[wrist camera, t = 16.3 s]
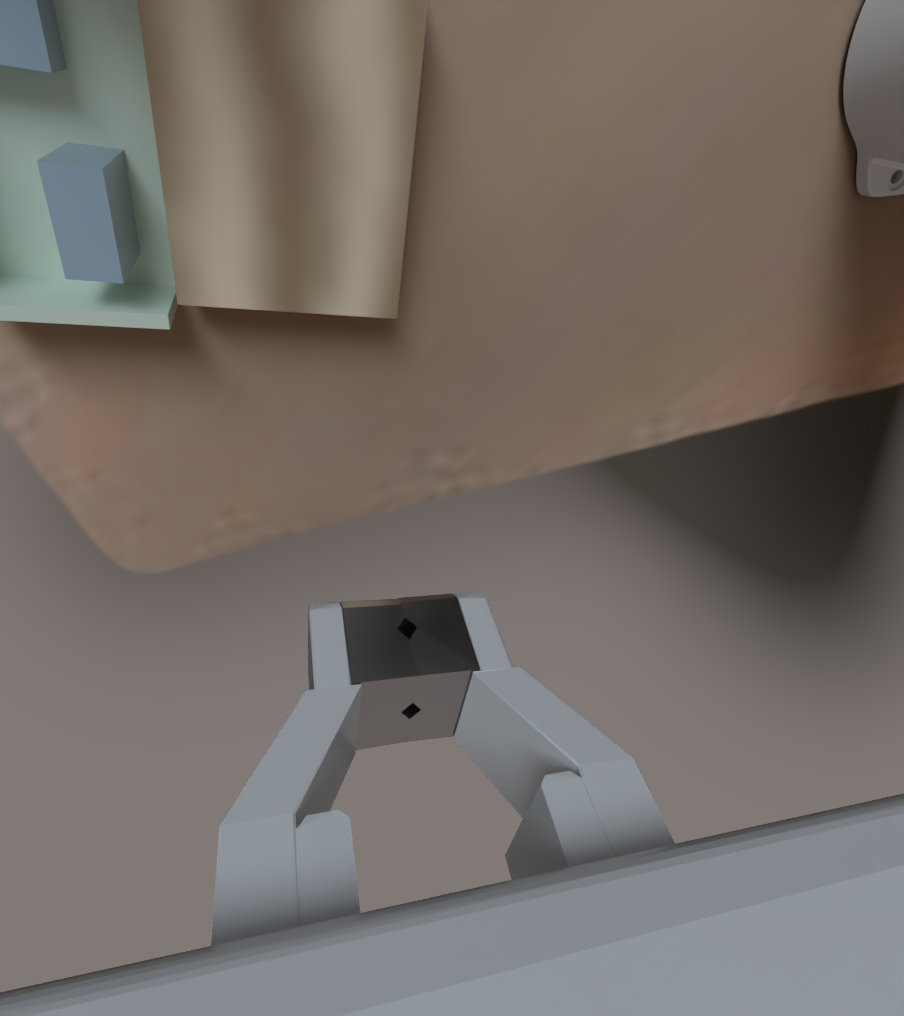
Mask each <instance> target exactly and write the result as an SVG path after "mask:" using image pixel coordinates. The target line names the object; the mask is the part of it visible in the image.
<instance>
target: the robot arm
mask: <svg viewBox="0 0 904 1016" xmlns="http://www.w3.org/2000/svg"><path fill="white" fill-rule="evenodd" d="M843 99H844V110H845V116H846V120H847V124H848V127H849V130H850V132H851V134H852V137H853V139H854V142H855V144H856V148H857V153H858V157H857V171H856V185H857V190H858V192H859V194H861V195H863V196H869V197H884V196H893V195H902V194H904V0H866V1H865V3H864V5H863V8H862V10H861V13H860V15H859V18H858V21H857V24H856V27H855V30H854V33H853V36H852V40H851V43H850V47H849V51H848V56H847V61H846V67H845V74H844V86H843ZM893 174H894V175H893ZM892 175H893V176H892ZM891 177H892V178H891ZM308 608H309V609H308V676H309V690H305V691H304V692H303V694H302V696H301V697H300V699H299V701H298V702H297V704H296V705H295V707H294V709H293V710H292V712H291V713H290V715H289V717H288V718H287V720H286V721H285V723H284V724H283V726H282V728H281V729H280V731H279V732H278V734H277V736H276V737H275V739H274V741H273V742H272V744H271V745H270V747H269V749H268V750H267V752H266V753H265V755H264V756H263V758H262V760H261V761H260V763H259V764H258V766H257V767H256V769H255V771H254V772H253V774H252V775H251V777H250V779H249V780H248V782H247V784H246V785H245V787H244V788H243V790H242V791H241V793H240V795H239V796H238V798H237V800H236V801H235V803H234V804H233V806H232V807H231V809H230V811H229V812H228V814H227V815H226V817H225V819H224V820H223V822H222V823H221V825H220V827H219V841H218V855H217V871H216V886H215V899H214V913H213V914H214V915H213V929H212V943H211V946H209V947H204V948H200V949H195V950H191V951H186V952H182V953H177V954H173V955H169V956H164V957H160V958H154V959H150V960H145V961H141V962H136V963H132V964H127V965H123V966H118V967H114V968H109V969H105V970H100V971H95V972H91V973H86V974H82V975H77V976H73V977H68V978H64V979H59V980H55V981H50V982H46V983H41V984H36V985H32V986H27V987H23V988H18V989H14V990H9V991H5V992H0V1016H904V794H900V795H895V796H890V797H886V798H881V799H877V800H872V801H868V802H863V803H859V804H854V805H850V806H845V807H840V808H836V809H831V810H827V811H822V812H818V813H813V814H809V815H805V816H800V817H795V818H790V819H786V820H781V821H777V822H772V823H768V824H763V825H759V826H754V827H749V828H745V829H741V830H736V831H731V832H727V833H722V834H718V835H713V836H709V837H704V838H700V839H695V840H690V841H686V842H681V843H677V844H675V843H674V841H673V839H672V837H671V835H670V833H669V831H668V828H667V826H666V824H665V822H664V820H663V818H662V816H661V814H660V812H659V810H658V808H657V806H656V804H655V802H654V800H653V798H652V796H651V794H650V792H649V790H648V788H647V786H646V784H645V782H644V780H643V778H642V776H641V773H640V772H639V770H638V767H637V765H636V763H635V761H634V759H633V758H632V757H631V756H630V755H628V754H627V753H626V752H625V751H623V750H622V749H621V748H620V747H619V746H617V745H616V744H615V743H614V742H613V741H611V740H610V739H609V738H608V737H606V736H605V735H604V734H603V733H602V732H600V731H599V730H598V729H597V728H595V727H594V726H593V725H592V724H591V723H589V722H588V721H587V720H586V719H584V718H583V717H582V716H581V715H579V714H578V713H577V712H576V711H574V710H573V709H572V708H571V707H570V706H569V705H567V704H566V703H565V702H563V701H562V700H561V699H560V698H559V697H558V696H556V695H555V694H554V693H552V692H551V691H550V690H549V689H548V688H547V687H545V686H544V685H543V684H542V683H540V682H539V681H538V680H537V679H536V678H534V677H533V676H532V675H531V674H529V673H528V672H527V671H526V670H524V669H523V668H522V667H521V666H520V667H512V664H511V661H510V659H509V656H508V653H507V651H506V648H505V646H504V643H503V640H502V638H501V635H500V632H499V630H498V627H497V625H496V622H495V619H494V617H493V614H492V612H491V609H490V607H489V604H488V601H487V599H486V596H485V595H484V594H483V593H482V592H471V593H458V594H441V595H429V596H418V597H405V598H398V599H386V600H364V601H342V602H341V603H340V602H330V603H311V604H309V607H308ZM451 736H454V740H455V741H456V742H457V743H458V744H459V745H460V747H461V748H462V749H463V750H464V751H465V752H466V753H467V755H468V756H469V757H470V758H471V759H472V760H473V761H474V763H476V765H477V766H478V767H479V768H480V770H481V771H482V772H483V773H484V774H485V775H486V776H487V778H488V779H489V780H490V781H491V782H492V783H493V784H494V786H495V787H496V788H497V789H498V790H499V791H500V792H501V794H502V795H503V796H504V797H505V798H506V799H507V800H508V802H509V803H510V804H511V805H512V806H513V807H514V808H515V810H516V811H517V812H518V813H519V814H520V815H521V817H522V818H523V820H522V822H521V824H520V826H519V828H518V830H517V832H516V834H515V836H514V838H513V840H512V842H511V844H510V846H509V848H508V850H507V852H506V854H505V857H506V861H507V864H508V868H509V872H510V875H511V879H512V880H509V881H504V882H500V883H495V884H491V885H486V886H481V887H477V888H472V889H468V890H463V891H459V892H455V893H450V894H445V895H440V896H436V897H431V898H427V899H423V900H418V901H413V902H409V903H404V904H400V905H395V906H390V907H386V908H381V909H377V910H372V911H368V912H364V913H360V906H359V897H358V888H357V880H356V870H355V861H354V852H353V843H352V834H351V826H350V818H349V817H348V816H346V815H345V814H343V813H342V812H340V811H339V810H334V811H330V809H331V807H332V805H333V803H334V800H335V798H336V796H337V794H338V791H339V789H340V787H341V785H342V782H343V780H344V778H345V776H346V773H347V771H348V769H349V767H350V764H351V762H352V760H353V758H354V755H355V751H356V750H359V749H365V748H371V747H377V746H383V745H389V744H394V743H400V742H408V741H416V740H425V739H433V738H442V737H451Z"/></svg>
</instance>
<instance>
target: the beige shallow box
mask: <svg viewBox="0 0 904 1016" xmlns="http://www.w3.org/2000/svg"><path fill="white" fill-rule="evenodd" d="M428 2H429V0H137V3H138V11H139V18H140V26H141V33H142V41H143V48H144V56H145V63H146V71H147V78H148V86H149V93H150V101H151V108H152V116H153V123H154V131H155V138H156V146H157V153H158V161H159V168H160V176H161V183H162V190H163V198H164V205H165V213H166V220H167V228H168V235H169V243H170V250H171V258H172V265H173V273H174V280H175V288H176V295H177V303H178V305H189V306H205V307H220V308H235V309H251V310H266V311H282V312H297V313H313V314H328V315H343V316H359V317H374V318H390V319H397V314H398V304H399V294H400V284H401V274H402V264H403V254H404V244H405V234H406V224H407V214H408V204H409V193H410V183H411V173H412V163H413V153H414V143H415V133H416V123H417V113H418V103H419V93H420V83H421V73H422V63H423V53H424V42H425V32H426V22H427V12H428Z"/></svg>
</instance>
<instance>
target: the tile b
mask: <svg viewBox="0 0 904 1016" xmlns="http://www.w3.org/2000/svg"><path fill="white" fill-rule="evenodd" d="M37 164H38V168H39V172H40V176H41V180H42V184H43V188H44V193H45V197H46V201H47V205H48V209H49V213H50V217H51V221H52V225H53V230H54V234H55V238H56V242H57V246H58V250H59V254H60V258H61V262H62V266H63V271H64V275H65V279H69V280H82V281H96V282H109V283H123V284H124V282H125V280H126V278H127V277H128V275H129V273H130V271H131V269H132V267H133V266H134V264H135V262H136V260H137V258H138V257H139V255H140V247H139V241H138V235H137V229H136V223H135V216H134V210H133V204H132V198H131V192H130V186H129V180H128V173H127V167H126V161H125V155H124V150H122V149H115V148H107V147H99V146H92V145H84V144H77V143H69V142H67V143H65V144H63V145H62V146H60V147H58V148H57V149H55V150H54V151H52V152H50V153H49V154H47V155H45V156H44V157H42V158H40V159H39V160H37Z"/></svg>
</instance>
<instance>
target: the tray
mask: <svg viewBox="0 0 904 1016" xmlns="http://www.w3.org/2000/svg"><path fill="white" fill-rule="evenodd" d="M53 2H54V7H55V12H56V17H57V22H58V27H59V32H60V37H61V42H62V48H63V53H64V58H65V63H66V68H67V69H65V70H61V71H57V72H53V73H50V72H43V71H37V70H31V69H25V68H18V67H12V66H6V65H0V320H1V321H19V322H38V323H57V324H75V325H94V326H112V327H131V328H150V329H168V330H170V328H171V325H172V321H173V318H174V315H175V312H176V309H177V306H178V303H177V295H176V288H175V280H174V273H173V265H172V258H171V250H170V243H169V235H168V228H167V220H166V213H165V205H164V198H163V190H162V183H161V176H160V168H159V161H158V153H157V146H156V138H155V131H154V123H153V116H152V108H151V101H150V93H149V86H148V78H147V71H146V63H145V56H144V48H143V41H142V33H141V26H140V18H139V11H138V3H137V0H53ZM67 142H69V143H77V144H84V145H92V146H99V147H107V148H115V149H122V150H124V155H125V161H126V167H127V173H128V180H129V186H130V192H131V198H132V204H133V210H134V216H135V223H136V229H137V235H138V241H139V247H140V255H139V257H138V258H137V260H136V262H135V264H134V266H133V267H132V269H131V271H130V273H129V275H128V277H127V278H126V280H125V282H124V284H123V283H109V282H96V281H82V280H69V279H65V275H64V271H63V266H62V262H61V258H60V254H59V250H58V246H57V242H56V238H55V234H54V230H53V225H52V221H51V217H50V213H49V209H48V205H47V201H46V197H45V193H44V188H43V184H42V180H41V176H40V172H39V168H38V164H37V160H39V159H40V158H42V157H44V156H45V155H47V154H49V153H50V152H52V151H54V150H55V149H57V148H58V147H60V146H62V145H63V144H65V143H67Z"/></svg>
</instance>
